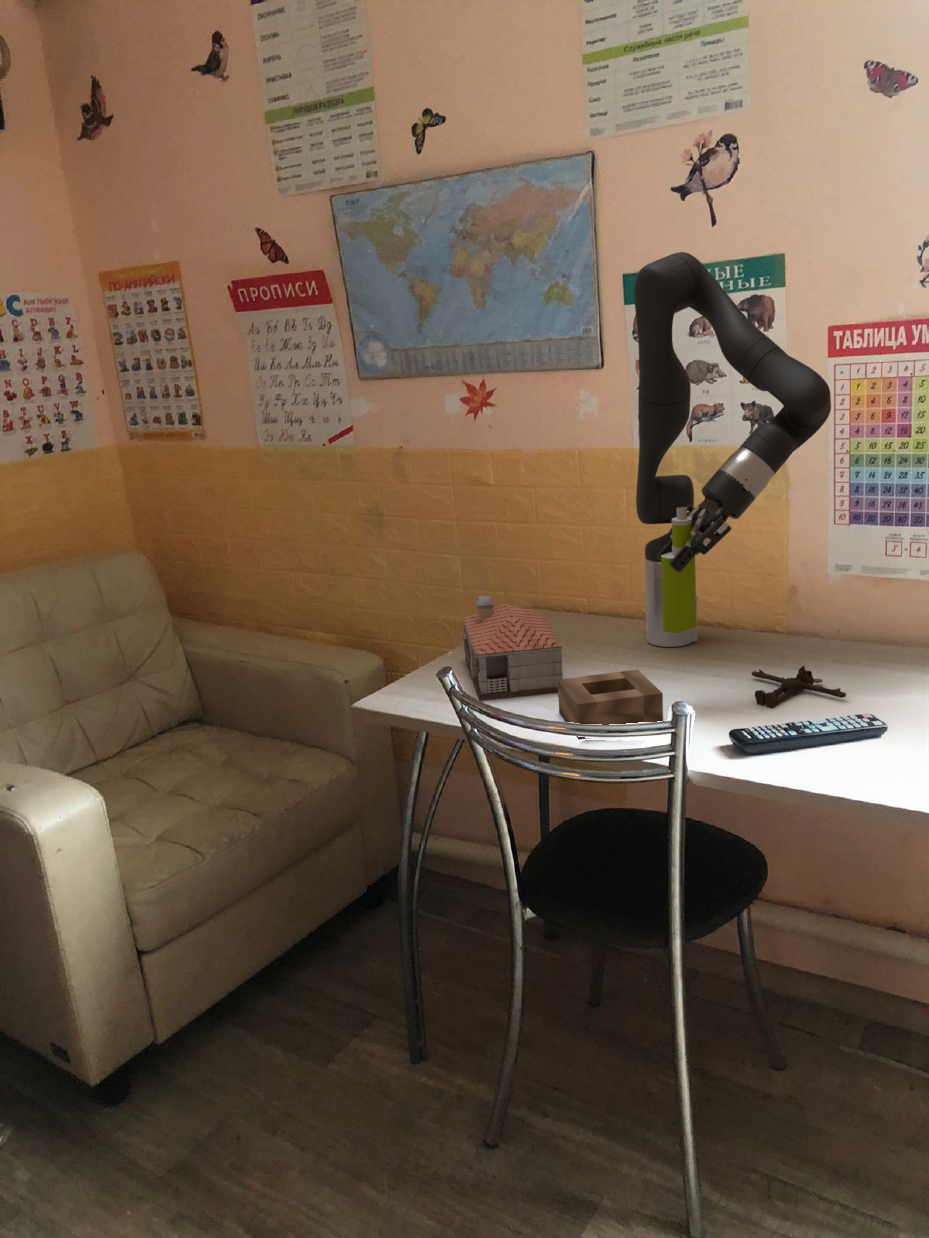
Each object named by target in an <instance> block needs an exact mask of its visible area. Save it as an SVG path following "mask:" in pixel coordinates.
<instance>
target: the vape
mask: <svg viewBox="0 0 929 1238" xmlns="http://www.w3.org/2000/svg"><path fill="white" fill-rule="evenodd" d="M671 525H672V526H671V528H672V552H670V553H666V554H663V555H661V573H662V615H663V631H664V632H666V633H670V634H681V633H684V632H686V631H689V630H692V629H695V628H696V596H697V593H696V592H697V590H696V589H697V588H696V587H697V586H696V585H697V584H696V582H697V581H696V555H695V556H694V557H693V558H692V559H691V560H690V561H689V563H688V564H687V565H686V566H685V567H684V568H683V570H682V571H681V572H678V571H676V570H675V569H674V568H673V567H671V566H670V561H671V560H672V559H673V558H674V557H675V556H676V554H677V553H678V552H679V551H680V550H681V549H682V547H683V546H685V547H686V543H687V541H688V540H689V538H690V536H691V533H690V531H691V529H692V518H691V517H687V507H678V508H677V517H675V518H672V523H671Z"/></svg>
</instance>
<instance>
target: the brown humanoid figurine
mask: <svg viewBox="0 0 929 1238" xmlns="http://www.w3.org/2000/svg"><path fill="white" fill-rule="evenodd" d="M751 676H753V677H754V678H758V679H763V680H769V681H772V682H776V683H778V684H779V683H780V686H779V687H778V688H775V689H773V691H772V692H765V690H762V689H760V690H758V689H757V690H755V691H754V697H755V701H756V705H757V706H761V707H764V706H765V705H766V708H767V709H768V708H769V709H774V708H775V707H777V706H779V705H780V704H782V703H783V702H784V701H786V700H787V699H788V698H790V697H791V696H792V697H793V696H796V695H798V694H799V693H800V692H801V691H805V690H807V691H810V692H816V693H821V694H824V695H825V694H826V695H829V696H832V697H836V698H840V699H844V698H846V696H847V693H846V692H844V691H841V688H835V689H833V688H832V689H831V688H826V687H824V686H817V685H814V683H815V684H820V683H823V679H821V678H814V677H813V676H814V675H813V672H812V671H811V670H806V667H805V665H801V667H800V668H799V669H798V671H797V674H796V676H795V677H787V678H785V677H783V676H782V677H780V676H776V675H773V674H770V673H769V674H768V673H765V672H764V671H763V670H762V669H760V668H759V670H758V671H755V670H754V671H752V672H751Z"/></svg>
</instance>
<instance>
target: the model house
mask: <svg viewBox="0 0 929 1238" xmlns="http://www.w3.org/2000/svg"><path fill="white" fill-rule="evenodd" d="M475 603H476V606H477V612H478V613H474V614H472V615H468V616H466V617H462V623H463V625H462V626H463V634H462V635H463V650H464V654H465V655H464V657H465V663H466V665H467V668H468V671H469V675H470V677H471V681H472V684H473V687H474V690H475V693H476V696H477V699H478V701H479V702H483V701H492V700H502V699H503V700H504V699H512V698H521V697H522V698H523V697H531V696H540V695H541V696H542V695H552V694H553V695H554V694H558V680H559V679H564V678H563V662H562V661H563V657H562V650H563V646H562V645H561V643H560V641H559V640H558V638H557V636H556V635H555V634H554V632H553V631H552V629H551V628H550V626H549V624H548V623H547V621H546V620H545V617H544V616H543V615H542V613H541V612H540V610H536V609H531V608H526V607H521V606H517V605H516V606H515V605H510V604H506V603H505V604H502V605H498V606H496V607H494V603H493V601H492V598H491V595H490V594H489V595H478V597H477V600H476V601H475Z"/></svg>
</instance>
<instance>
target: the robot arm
mask: <svg viewBox="0 0 929 1238" xmlns="http://www.w3.org/2000/svg"><path fill="white" fill-rule="evenodd" d="M633 288H634V289H633V291H634V310H635V319H636V320H635V321H636V329H637V331H636V332H637V341H638V342H637V343H638V366H639V367H638V373H639V375H638V405H637V406H638V408H637V409H638V435H639V436H638V438H639V439H638V440H639V444H638V445H639V448H638V451H639V452H638V465H637V466H638V467H637V478H636V479H637V480H636V493H635V494H636V497H635V506H636V507H635V508H636V514H637V518H638V520H639V521H640V523H642V524H644V525H662V524H663V525H665V524H672V518H675V517H677V508H678V507H687V517H691V518H692V529H691V531H690V533H691V536H690V538H689V540H688V541H687V543H686V547H685V546H683V547H682V549H681V550H680V551H679V552H678V553H677V554H676V556H675V557H674V558H673V559H672V560H671V561H670V566H671V567H673V568H674V569H675V570H676V571H678V572H681V571H682V570H683V568H684V567H685V566H686V565H687V564H688V563H689V561H690V560H691V559H692V558H693V557H694V556H695V557H696V556H699V555H700V554H702V555H703V556H704V555H707V554H708V552H710V551H711V550H712V549H713V548H714V547H715V546H716V545H717V544H719V542H720V541H721V540H722V539H723V538H724V537H726V535H727V534H728V533H730V532H731V530H732V527H731V526H730V525H729V524H728V523H727V520H728V519H729V518H730V519H732V520H733V519H734V520H739V518H740V517H741V516H742V515H743V514H744V513H745V512H746V510H747V509H748V508H749V507H750V506H751V505H752V503H754V501H755V500H756V499H757V498H758V496H759V495H760V494H761V493H762V492H763V491H764V490H765V488H766V487H767V485H768V484H769V483H770V481H771V480H772V479H773V477H774V476H775V474H776V473H777V472H778V471H779V470H780V469H781V467H782V466H783V465H784V464H785V463H786V462H787V460H788V459H789V458H790V457H791V455H792V454H793V453H794V452H795V451H797V450H798V449H799V448H800V447H801V446H802V445H804V444H805V443H806V442H807V441H808V440H810V439H811V438H812V437H813V436H814V435H815V434H816V433H817V432H818V431H819V430H820V429H821V427H822V426H823V425H824V424H825V423H826V421H827V420H828V418H829V416H830V413H831V411H832V399H831V395H832V394H831V388H830V386H829V385H828V383H827V381H826V380H825V379H824V378H823V377H822V376H821V375H820V374H819V373H818V372H817V371H815V369H813V368H811V367H810V366H808V365H806V364H805V363H803V362H801V361H799V360H798V359H797V358H794V357H792V356H790V355H788V354H787V353H786V351H785V350H784V349H782V348H781V346H780V345H778V344H777V343H776V342H775V341H774V340H772V339H771V338H770V337H769V336H767V334H765V333H764V332H763V331H761V330H760V329H759V328H758V327H757V326H756V325H755V324H754V323H753V322H752V321H751V320H750V319H749V318H748V317H747V316H746V314H744V313H743V311H742V310H741V309H740V308H739V307H738V305H737V304H736V303H735V302H734V301H733V299H732V298H731V297H730V296H729V294H728V293H727V292H726V291H725V290H724V288H723V287H722V286H721V285H720V284H719V282H718V281H717V280H716V279H715V278H714V276H713V275H712V274H711V273H710V271H709V270H708V269H707V268H706V266H705V265H704V264H703V263H702V262H701V261H700V260H699V259H698V258H697V257H695V256H694V255H692V254H691V253H689V252H686V251H679V252H675V253H672V254H669V255H666V256H664V257H661V258H659V259H657V260H655V261H653V262H650V263H648V264H645V265H644V266H643V267H642V268H641V269H640V270H639V271H638V273H637V275H636V277H635V281H634V287H633ZM688 308H690V309H692V310H694V311H695V312H696V313H698V314H699V315H700V316H702V317H703V318H704V319H705V320H706V321H707V322H708V323H709V324H710V326H711V327H712V330H713V331H714V333H715V336H716V339H717V342H718V345H719V348H720V351H721V353H722V355H723V357H724V358H725V360H726V362H727V363H728V364H729V365H730V366H731V367H732V368H733V369H734V371H736V373H738V374H740V376H742V377H743V378H744V379H745V380H746V381H748V382H749V383H750V385H752V386H753V387H754V388H756V389H758V390H760V391H762V392H768V394H770V395H771V396H772V397H774V398H775V399H777V401H779V402H780V403H781V405H782V408H781V409H780V410H779V412H777V413H776V414H775V415H774V416H773V417H772V418H771V420H769V422H768V421H767V422H762V423H761V424H759V425H758V426H757V427H756V428H755V429H754V430H753V431H752V432H751V434H749V435H748V437H747V438H745V440H744V442H743V443H742V444H741V445H740V446H739V447H738V449H736V450H735V451H734V452H733V453H732V454H731V455H730V456H729V457H727V459H726V460H725V461H724V462H723V464H721V466H720V467H719V469H717V470H716V472H715V473H714V474H713V475H712V476H711V478H710V479H709V480H708V481H707V482H706V483H705V485H703V487H702V488H701V493H702V495H703V496H704V500H702V501H701V502H700V503H699V504H698V505H697V506H696V507H695V492H694V491H695V490H694V483H693V480H692V479H691V477H690V476H689V475H686V474H673V475H671V474H670V475H657V473H658V469H659V466H660V464H661V462H662V460H663V459H664V457H665V455H666V454H667V452H668V451H669V449H670V448H671V446H672V445H673V444H674V443H675V441H676V440H677V439H678V437H679V436H680V435H681V433H682V432H683V430H684V429H685V427H686V425H687V423H688V421H689V419H690V415H691V413H690V412H691V394H692V393H691V391H692V390H691V381H690V377H689V375H688V373H687V370H686V369H685V367H684V365H683V363H682V362H681V360H680V359H679V357H678V355H677V353H676V351H675V349H674V344H673V323H674V317H675V314H677V313H679V312H681V311H683V310H686V309H688ZM670 552H672V527H671V528H670V529H669V531H668V532H667V533H665V534H664V535H661V536H658V537H657V538H654V539H651V540H650V541H648V542H647V543H646V544H645V547H644V556H645V557H644V562H645V563H644V564H645V567H644V571H645V574H644V575H645V608H646V609H645V610H646V611H645V613H646V614H645V616H646V641H647V643H648V644H650V645H652V646H657V647H662V648H665V647H666V648H673V647H674V648H677V647H682V646H687V645H690V644H691V643H695V642H698V596H697V595H696V628H695V629H692V630H689V631H686V632H684V633H681V634H670V633H666V632H664V631H663V615H662V573H661V555H663V554H666V553H670Z"/></svg>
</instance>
